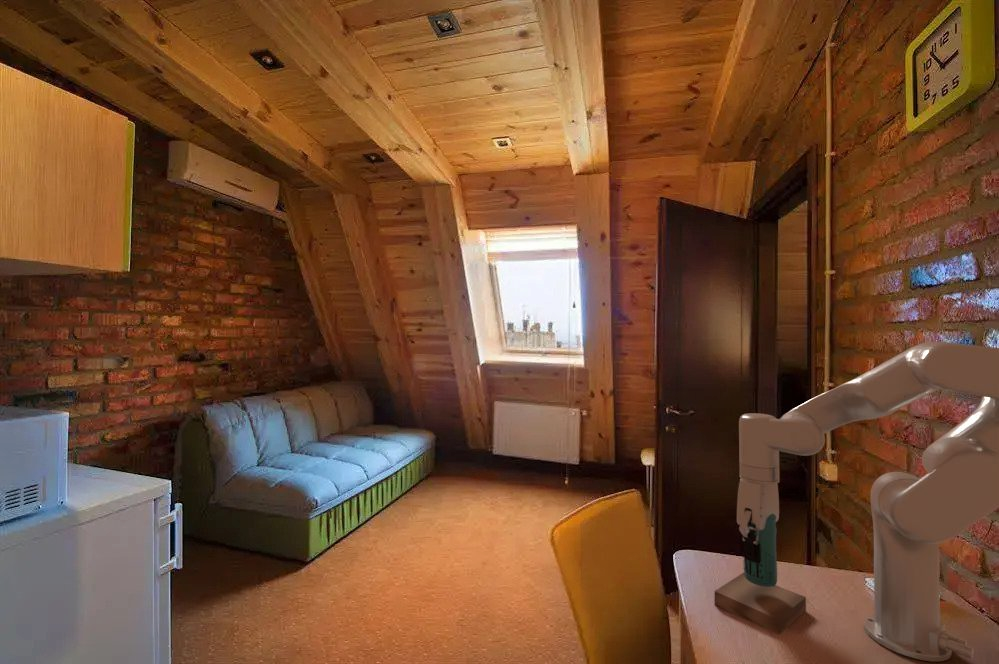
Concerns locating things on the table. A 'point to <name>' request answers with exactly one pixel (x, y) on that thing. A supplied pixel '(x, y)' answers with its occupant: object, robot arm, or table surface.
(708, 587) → the table surface
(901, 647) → the robot arm
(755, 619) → the walnut plinth
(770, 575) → the beverage bottle
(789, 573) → the table surface
